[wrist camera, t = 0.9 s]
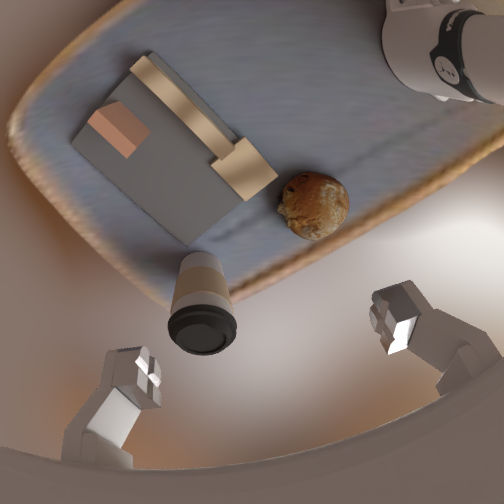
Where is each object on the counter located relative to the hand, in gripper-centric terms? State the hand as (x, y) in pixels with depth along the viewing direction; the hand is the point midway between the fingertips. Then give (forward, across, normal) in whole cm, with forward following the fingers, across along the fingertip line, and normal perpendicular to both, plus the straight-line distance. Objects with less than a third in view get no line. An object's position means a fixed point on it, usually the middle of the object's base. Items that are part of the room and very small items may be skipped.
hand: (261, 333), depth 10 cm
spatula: (+30, +2, -2) cm, 30 cm away
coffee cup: (+32, +8, +20) cm, 38 cm away
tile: (+30, +10, -5) cm, 32 cm away
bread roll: (+31, -11, +12) cm, 35 cm away
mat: (+31, +7, +1) cm, 32 cm away
